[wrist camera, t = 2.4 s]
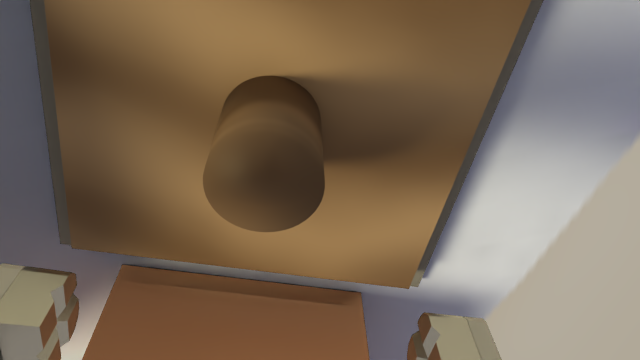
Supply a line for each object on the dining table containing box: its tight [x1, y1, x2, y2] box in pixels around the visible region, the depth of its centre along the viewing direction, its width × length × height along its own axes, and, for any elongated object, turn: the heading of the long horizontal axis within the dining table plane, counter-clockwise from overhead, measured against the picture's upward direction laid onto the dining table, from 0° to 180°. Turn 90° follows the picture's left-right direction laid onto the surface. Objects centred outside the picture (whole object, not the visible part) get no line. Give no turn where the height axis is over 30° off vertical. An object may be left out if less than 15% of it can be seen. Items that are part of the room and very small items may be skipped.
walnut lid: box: [44, 0, 531, 289], centre depth 17 cm, size 15×15×5 cm
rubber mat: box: [30, 0, 543, 287], centre depth 19 cm, size 17×17×1 cm
